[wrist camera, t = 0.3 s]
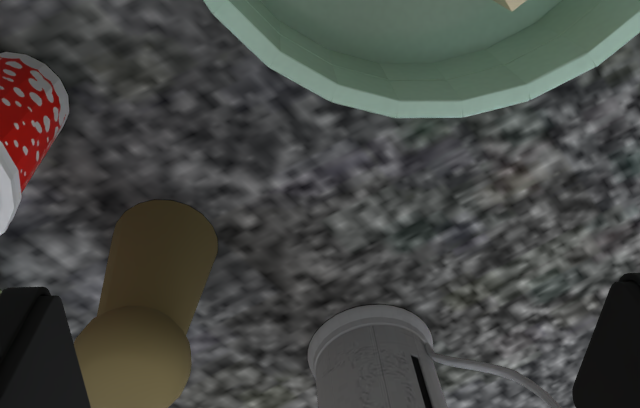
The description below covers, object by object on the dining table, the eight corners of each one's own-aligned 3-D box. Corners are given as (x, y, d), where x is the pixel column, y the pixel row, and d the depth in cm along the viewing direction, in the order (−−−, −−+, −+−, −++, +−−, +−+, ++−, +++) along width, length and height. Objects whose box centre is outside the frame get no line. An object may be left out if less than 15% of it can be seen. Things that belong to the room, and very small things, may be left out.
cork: (235, 263, 34) (220, 416, 24) (147, 296, 34) (100, 456, 25) (186, 184, 31) (148, 323, 21) (91, 222, 31) (13, 372, 22)
